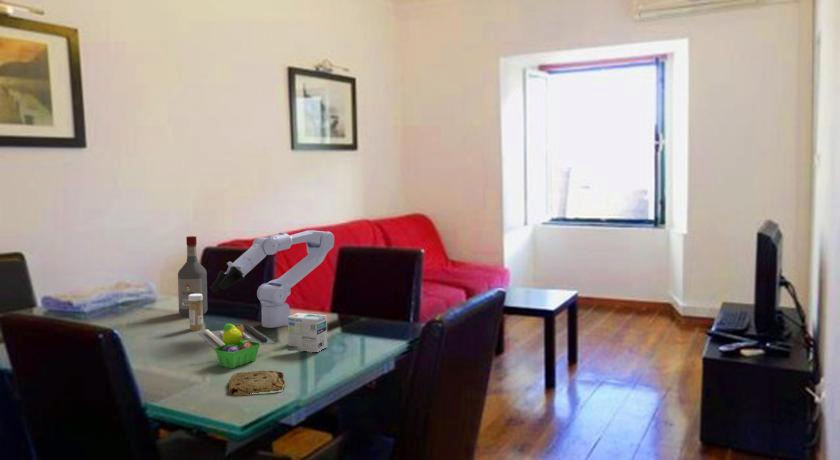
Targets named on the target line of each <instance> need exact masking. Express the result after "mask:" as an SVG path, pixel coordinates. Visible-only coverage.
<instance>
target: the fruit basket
mask: <svg viewBox="0 0 840 460" xmlns="http://www.w3.org/2000/svg"><path fill="white" fill-rule="evenodd" d="M222 330H223V337H222V338H223V342H224V343H225V345H223V346H220V347H217V348H215V349H214V348H213V350H214V352H215V353H216V357H217V360H218V363H219V366H222V367H224V368H230V369H234V368H237V367H240V366H243V365H245V364H244V363H246V364H248V362H249V363H251V362H250V361H252V362H255V361H256V360H257V359H256V358H257V356H258V351H259V348H260V346H261V345H260V343H257V342H253V341H248V340H241V337H242V333H241V332H240V331H239V330H238V329H237V328H236V327H235V326H234V325H232V323H226V324H225V325H224V326H223V329H222ZM254 360H255V361H254ZM242 364H243V365H242ZM239 365H240V366H239ZM236 366H237V367H236Z"/></svg>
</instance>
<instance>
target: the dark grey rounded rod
mask: <svg viewBox="0 0 840 460" xmlns="http://www.w3.org/2000/svg"><path fill="white" fill-rule="evenodd" d="M243 327H244V328H245V329H246V330H248V331H249V332H251V333H252V334H253V335H255V336H256V337H258V338H259V339H261V340H262V341H263V342H267V340H268V339H267V338H266V337H267V336H266V337H264V336H263V335H264V334H263V335H261V334H260V333H261V332H260V333H258V332H257V331H258V330H257V331H255V330H254V329H255V328H254V329H252V328H251V327H252V326H251V327H249V325H248V324H244V325H243Z"/></svg>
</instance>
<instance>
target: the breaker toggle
mask: <svg viewBox="0 0 840 460" xmlns="http://www.w3.org/2000/svg"><path fill="white" fill-rule="evenodd" d="M231 324H232V323H231ZM232 325H234V326H235V327H236V328H237V329H238V330H239V331H240V332H241V333H242V337H241V338H243V327H244V325H243V324H241V323H233V324H232Z"/></svg>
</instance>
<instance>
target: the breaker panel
mask: <svg viewBox="0 0 840 460" xmlns="http://www.w3.org/2000/svg"><path fill="white" fill-rule="evenodd" d="M248 326H249V325H248ZM249 327H251V328H252V329H254V330H255V331H257V332H258V333H260V334H261V335H263V336H264V337H266V338H267V339H268V340H267V342H263V341H262V340H261V339H259V338H258V337H256V336H255V335H253V334H252V333H251V332H249V331H248V330H246V329H245V328H244V326H243V338H241V340H248V341H253V342H257V343H260V346H264V345H268V344H270V345H271V344H275V343H276V342H275V341H273V340H272V339H271V338H269V337H268V336H266V335H265V334H263V333H262V332H260V331H259V330H257V329H256V328H254V327H253V326H249ZM223 330H224V329H220V330H212V331H210V332H212V333H213V334H214V335H215V336H216V337H218V338H219V339H220V340H221V341H222V342H223V338H222V337H223ZM197 334H198V335H199V336H200V337H201V338H202V339H203V340H205V342H207V343H208V344H209V345H210V346H211V347H212V348H213V350H214V349H215V348H217V347H220V345H218V344H217V343H216V342H215V341H214V340H213V339H212V338H210V337H209V336H208V335H207V334H206V333H205V331H204V332H198V333H197ZM223 343H224V342H223Z"/></svg>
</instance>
